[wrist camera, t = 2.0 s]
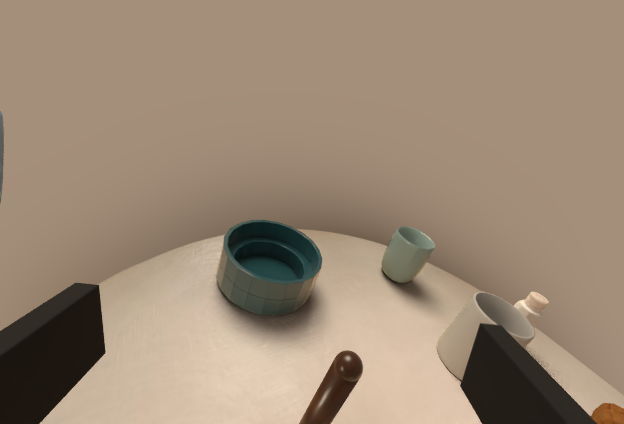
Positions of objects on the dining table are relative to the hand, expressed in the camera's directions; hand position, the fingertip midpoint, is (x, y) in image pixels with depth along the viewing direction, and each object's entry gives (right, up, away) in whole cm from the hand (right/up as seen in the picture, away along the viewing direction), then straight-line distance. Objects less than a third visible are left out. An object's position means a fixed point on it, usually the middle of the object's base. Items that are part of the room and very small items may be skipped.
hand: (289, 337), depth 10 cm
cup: (+18, -9, +51) cm, 55 cm away
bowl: (-7, -7, +37) cm, 38 cm away
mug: (+26, -19, +37) cm, 49 cm away
